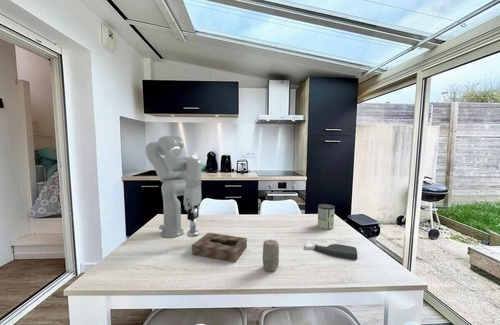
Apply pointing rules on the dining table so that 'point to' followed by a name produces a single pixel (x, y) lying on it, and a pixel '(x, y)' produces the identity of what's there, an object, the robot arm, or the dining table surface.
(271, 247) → the carving
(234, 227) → the dining table surface
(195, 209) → the keyhole peg
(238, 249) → the keyhole board
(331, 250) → the spray bottle
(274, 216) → the dining table surface
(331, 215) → the coffee can
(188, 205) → the robot arm
